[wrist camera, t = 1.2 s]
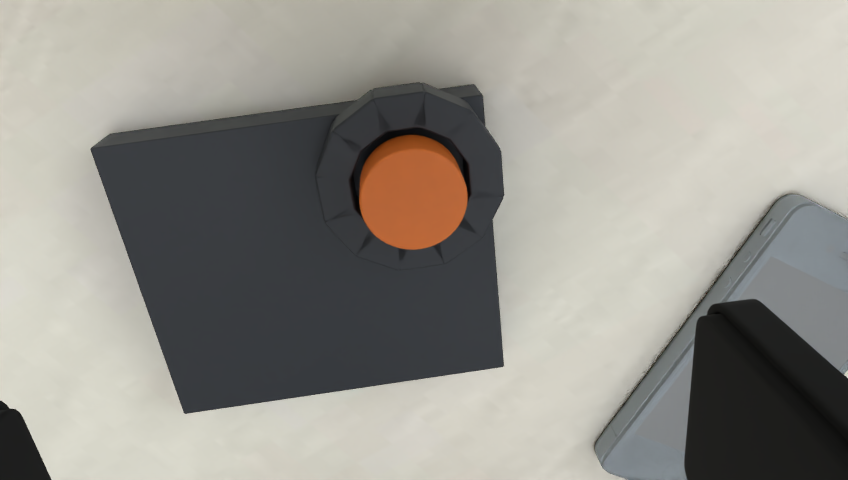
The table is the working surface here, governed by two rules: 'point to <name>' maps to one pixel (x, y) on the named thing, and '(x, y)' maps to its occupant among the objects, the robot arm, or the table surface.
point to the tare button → (412, 192)
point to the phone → (743, 279)
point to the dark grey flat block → (304, 249)
